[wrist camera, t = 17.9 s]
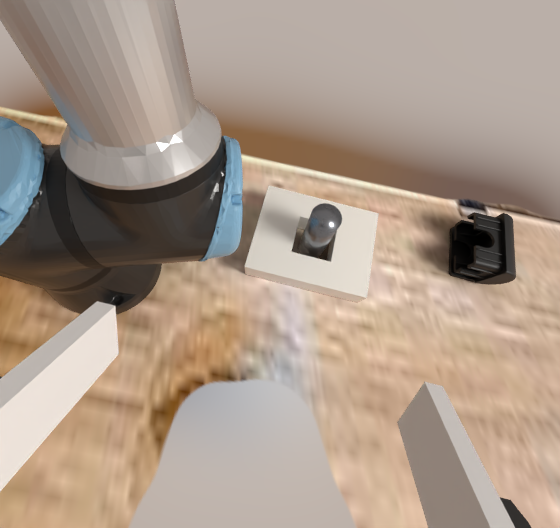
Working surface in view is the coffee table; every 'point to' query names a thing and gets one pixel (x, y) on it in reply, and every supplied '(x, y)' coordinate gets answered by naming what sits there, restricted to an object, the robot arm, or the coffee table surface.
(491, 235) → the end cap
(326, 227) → the pin
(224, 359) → the coffee table surface
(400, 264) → the coffee table surface
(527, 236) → the coffee table surface
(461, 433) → the robot arm
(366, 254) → the socket block
